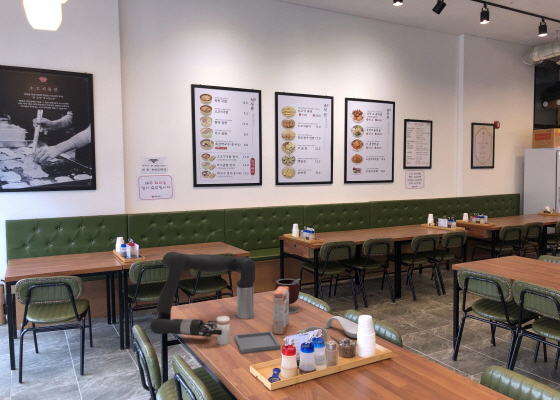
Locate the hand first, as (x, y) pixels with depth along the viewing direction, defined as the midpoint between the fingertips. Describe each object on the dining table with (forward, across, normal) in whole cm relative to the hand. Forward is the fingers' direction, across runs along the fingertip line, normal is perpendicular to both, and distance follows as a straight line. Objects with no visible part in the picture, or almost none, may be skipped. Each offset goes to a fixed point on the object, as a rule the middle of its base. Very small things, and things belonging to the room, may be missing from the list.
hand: (224, 329), depth 210 cm
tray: (+15, +1, +6) cm, 17 cm away
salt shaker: (-1, 0, +6) cm, 7 cm away
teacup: (+42, +2, +7) cm, 42 cm away
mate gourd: (+23, +52, +7) cm, 57 cm away
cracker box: (+24, +21, +7) cm, 33 cm away
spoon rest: (+56, +22, +7) cm, 61 cm away
